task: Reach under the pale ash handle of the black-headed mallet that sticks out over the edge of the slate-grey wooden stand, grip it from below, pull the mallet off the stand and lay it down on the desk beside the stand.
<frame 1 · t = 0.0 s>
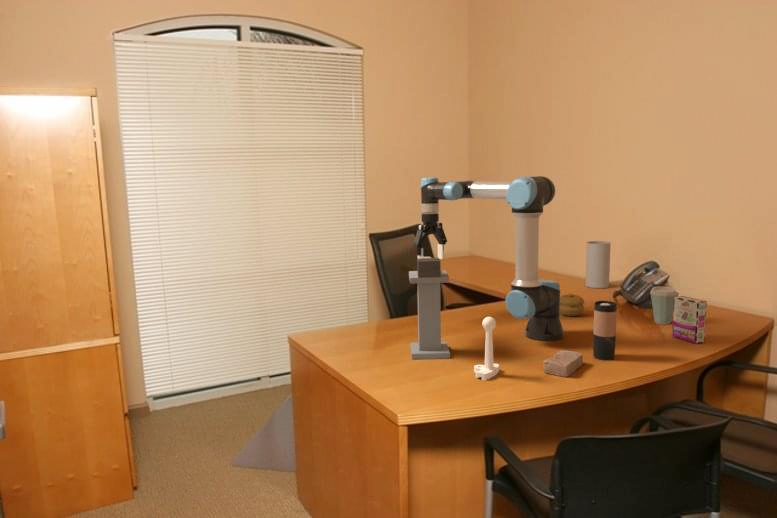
hand: (430, 260, 261), 28 cm above the table, tool pointing down, fingers open, 13 cm apart
brown round lump: (570, 315, 272), on the table
disposable coffee cup: (661, 322, 255), on the table
brick: (563, 369, 202), on the table
cylinder vase: (597, 286, 331), on the table
travel mug: (603, 357, 212), on the table
joystick: (484, 374, 199), on the table
candy bar box: (688, 340, 230), on the table
stand: (429, 351, 224), on the table
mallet: (428, 274, 219), point 30 cm above the table, touching stand
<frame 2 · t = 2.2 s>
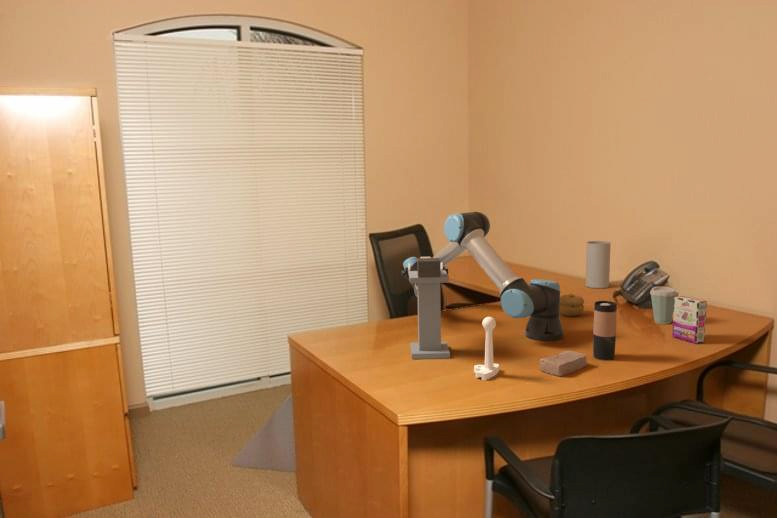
hand: (425, 265, 246), 28 cm above the table, tool pointing upward, fingers open, 13 cm apart
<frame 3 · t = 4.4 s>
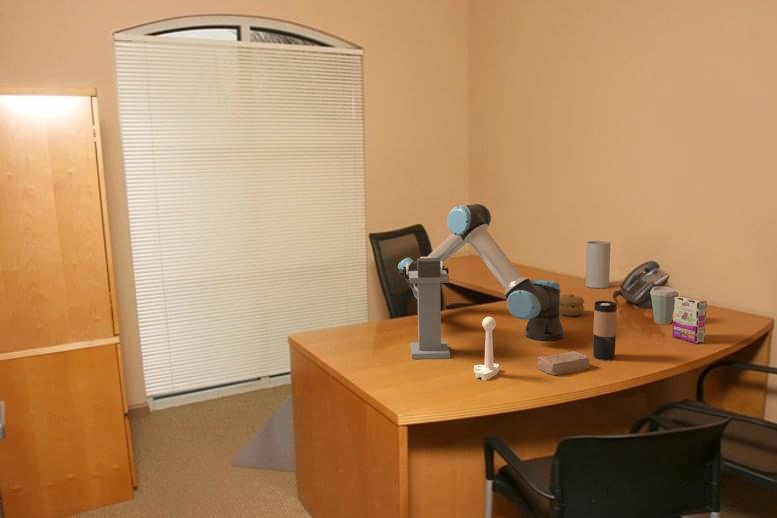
hand: (424, 264, 234), 31 cm above the table, tool pointing upward, fingers open, 13 cm apart
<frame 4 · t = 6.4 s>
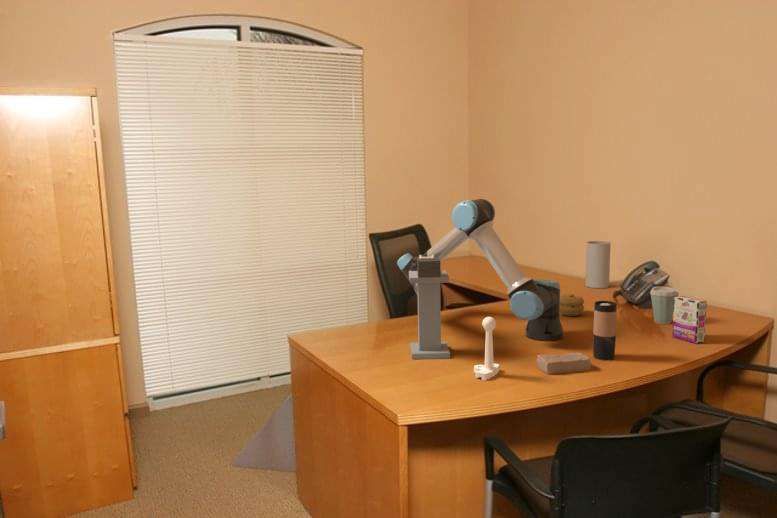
hand: (426, 258, 226), 35 cm above the table, tool pointing upward, fingers closed on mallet, 4 cm apart
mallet: (428, 274, 219), point 30 cm above the table, touching gripper, stand
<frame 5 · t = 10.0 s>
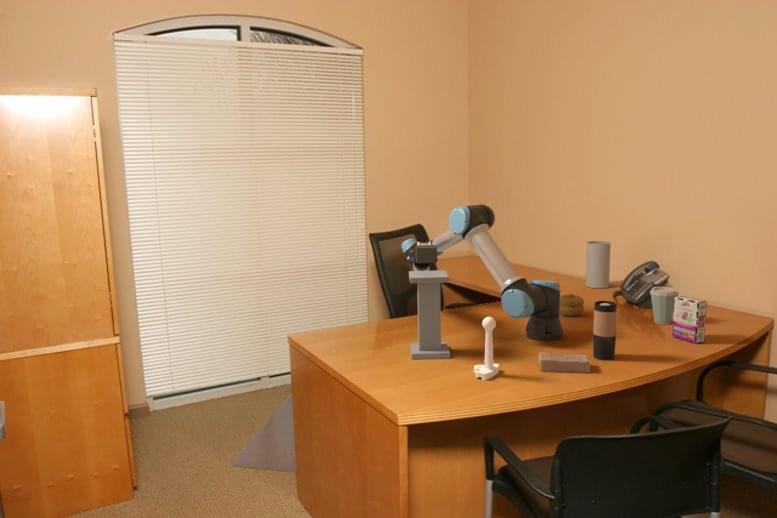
hand: (424, 244, 242), 38 cm above the table, tool pointing upward, fingers closed on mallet, 4 cm apart
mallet: (425, 259, 235), point 33 cm above the table, touching gripper
when the fingers open (12 cm above the table, at t = 13.6 s): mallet drops 4 cm, on the table.
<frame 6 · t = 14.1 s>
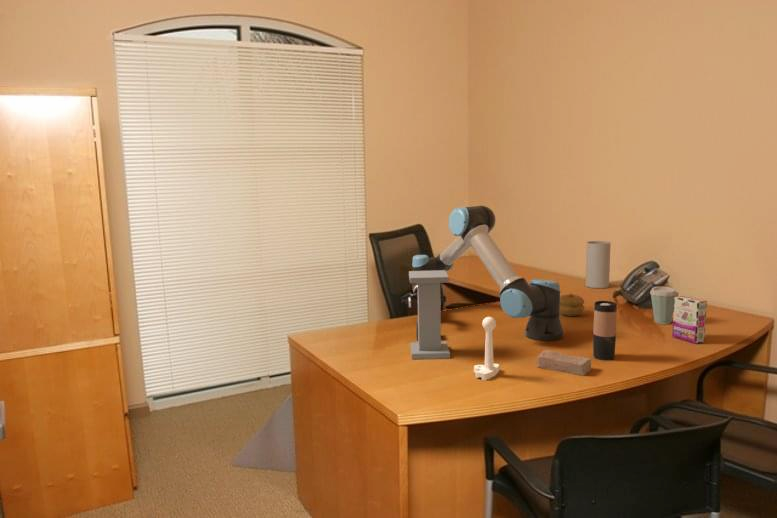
hand: (424, 303, 247), 12 cm above the table, tool horizontal, fingers open, 12 cm apart
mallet: (425, 335, 245), on the table
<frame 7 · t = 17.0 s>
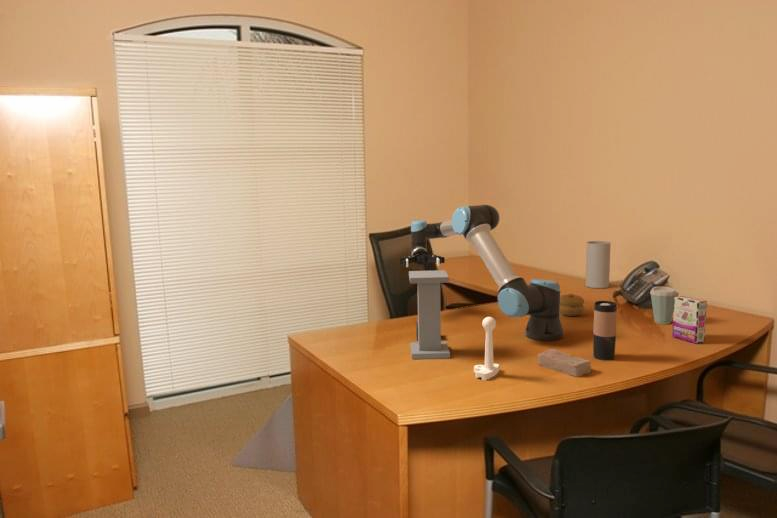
hand: (423, 263, 255), 28 cm above the table, tool horizontal, fingers open, 13 cm apart
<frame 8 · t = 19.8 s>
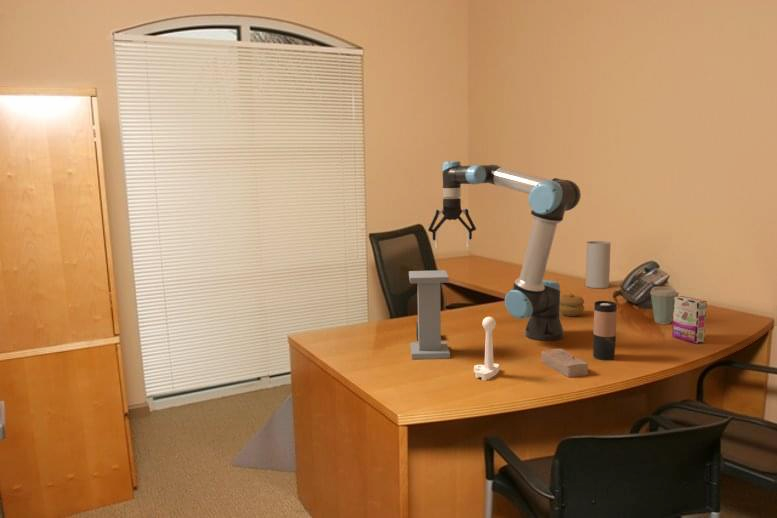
hand: (452, 247, 253), 35 cm above the table, tool pointing down, fingers open, 13 cm apart
at the end: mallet inside the target area (1.4 cm from its centre), on the table; the gripper is holding nothing; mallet touching table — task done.
